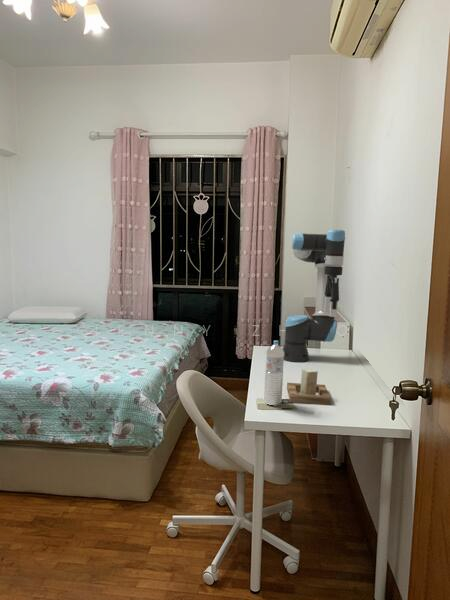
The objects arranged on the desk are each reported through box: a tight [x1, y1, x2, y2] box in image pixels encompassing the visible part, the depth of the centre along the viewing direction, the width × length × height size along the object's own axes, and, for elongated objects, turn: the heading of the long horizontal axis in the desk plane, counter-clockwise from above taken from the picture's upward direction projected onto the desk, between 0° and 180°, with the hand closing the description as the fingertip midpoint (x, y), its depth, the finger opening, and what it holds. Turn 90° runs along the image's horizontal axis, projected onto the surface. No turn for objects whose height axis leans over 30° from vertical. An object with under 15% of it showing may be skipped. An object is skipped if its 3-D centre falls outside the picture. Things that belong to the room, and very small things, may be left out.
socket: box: [286, 382, 333, 406], centre depth 177 cm, size 16×16×2 cm
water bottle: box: [263, 340, 285, 407], centre depth 166 cm, size 7×7×25 cm
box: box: [299, 368, 319, 395], centre depth 176 cm, size 5×4×11 cm
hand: (330, 313), depth 190 cm, fingers open, 13 cm apart
